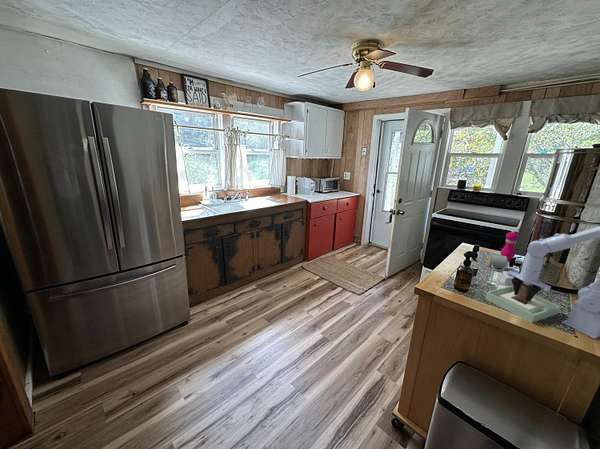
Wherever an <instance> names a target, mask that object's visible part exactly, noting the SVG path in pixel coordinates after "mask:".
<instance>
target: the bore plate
mask: <svg viewBox="0 0 600 449" xmlns="http://www.w3.org/2000/svg"><path fill="white" fill-rule="evenodd" d="M516 297H517V295H514V292H510V293H507V294H503V295H500V297H499V298H501V299H503V300H505V301H507V302H509V303H511V304H513V305H515V306H517V307H520V308H522V309H524V310H526V311H528V312H530V313H532V314H534V313H537V312H540V311H543V309H544V306H545V304H543V303H541V302H539V301H536V300H534V299H532V300H531V301H528V304H526V305H525V304H523V303H521V302H519V301H517V300H516Z"/></svg>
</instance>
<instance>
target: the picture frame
mask: <svg viewBox="0 0 600 449" xmlns="http://www.w3.org/2000/svg"><path fill="white" fill-rule="evenodd" d="M510 292H514V286H513V285H512V286H511V285H507V286H505V287H501V288H497V289H492V290H488V291H486V293H485V296H484V299H485V300H488V301H489V302H491V303H492V304H495V305H497V306H498V307H500V308H502V309H504V310H506V311H508V312H510V313H511V314H514V315H516V316H517V317H520V318H521V319H523V320H524V321H527V322H529V323H531V324H533V323H535V322H539V321H541V320H545V319H547V318H550V317H553V316H555V315H558V314H559V312H560V309H561V307H562V306H561V305H558V304H556V303H553V302H551V301H549V300H546V299H544V298H542V297H540V296H538V295H535V296H534V297H533V298H532V299H534V300H536V301H539V302H541V303H543V304H545V306H544V309H543V311H540V312H537V313H534V314H532V313H530V312H528V311H526V310H524V309H522V308H520V307H517V306H515V305H513V304H511V303H509V302H507V301H505V300H503V299H501V298H499V297H500V295H503V294H507V293H510Z"/></svg>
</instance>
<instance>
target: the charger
mask: <svg viewBox="0 0 600 449" xmlns="http://www.w3.org/2000/svg"><path fill="white" fill-rule="evenodd" d="M507 273H508V271H506V270H504V271H502V272H501V276H500V277H501V279H502V282H503V284H504V285H506V286H512V285H513V283H512V281H511V280H512V279H513V278H514V277H512V276H508V275H507ZM523 284H527V285H529V286H530V284H529V283H527V282H524V283H523Z"/></svg>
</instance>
